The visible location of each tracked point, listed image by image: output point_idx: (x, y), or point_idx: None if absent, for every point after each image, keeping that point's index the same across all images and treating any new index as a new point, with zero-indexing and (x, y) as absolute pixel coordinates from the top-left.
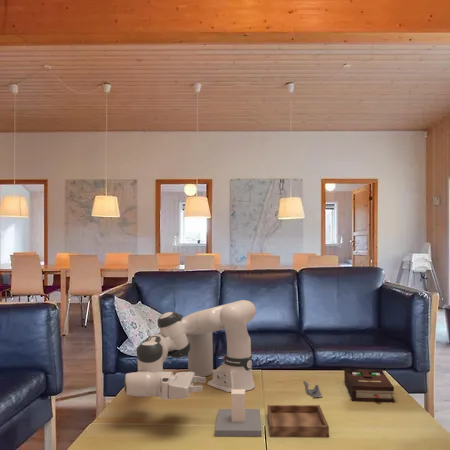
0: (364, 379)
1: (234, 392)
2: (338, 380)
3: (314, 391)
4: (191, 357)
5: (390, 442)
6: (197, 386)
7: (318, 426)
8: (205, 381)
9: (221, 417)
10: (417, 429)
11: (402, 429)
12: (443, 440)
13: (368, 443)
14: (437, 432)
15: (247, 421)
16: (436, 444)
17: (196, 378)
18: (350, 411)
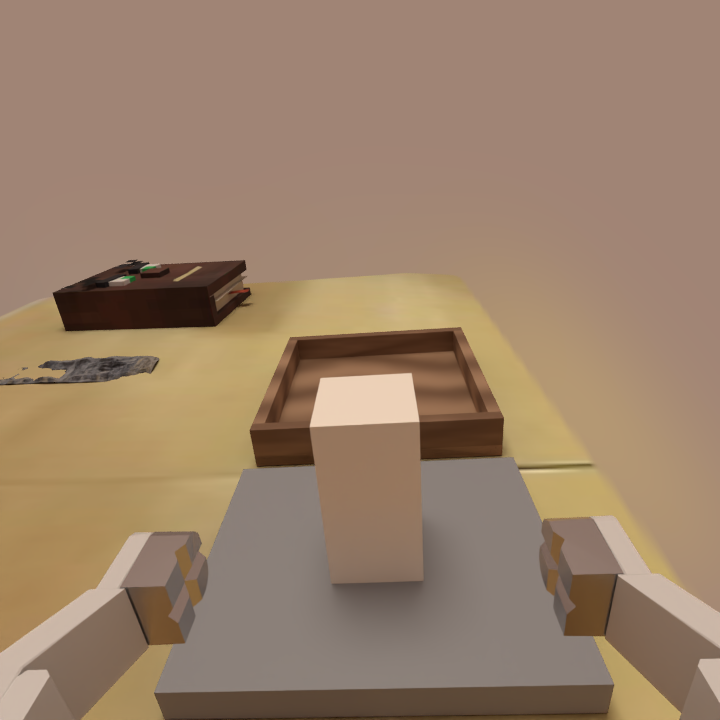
0: (169, 277)
1: (386, 410)
2: (40, 337)
3: (117, 359)
4: None
5: (464, 303)
6: (662, 579)
7: (465, 338)
8: (203, 560)
9: (348, 653)
10: (393, 285)
11: (395, 293)
12: (438, 275)
13: (479, 318)
14: (405, 276)
15: None
16: (457, 278)
17: (58, 694)
18: (284, 329)
